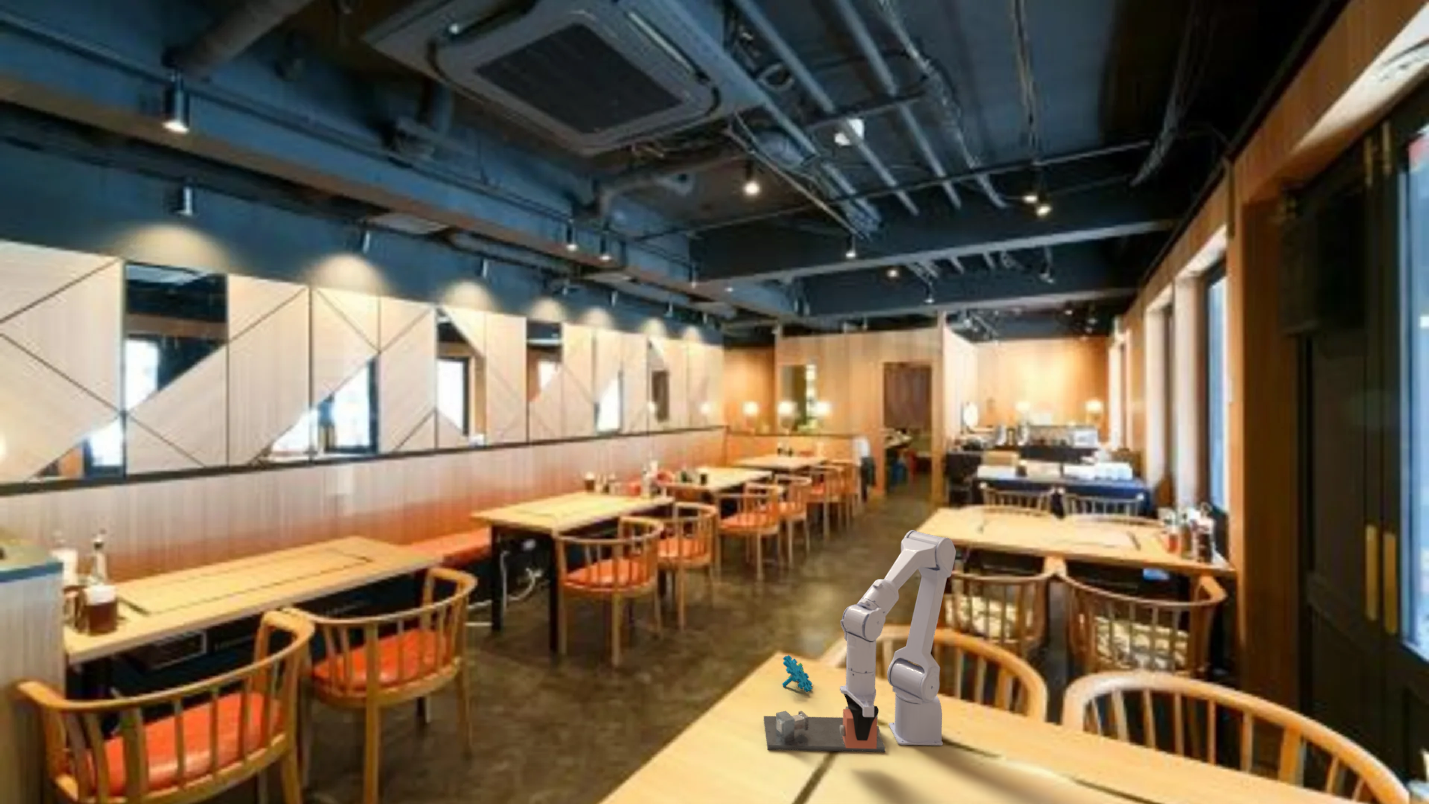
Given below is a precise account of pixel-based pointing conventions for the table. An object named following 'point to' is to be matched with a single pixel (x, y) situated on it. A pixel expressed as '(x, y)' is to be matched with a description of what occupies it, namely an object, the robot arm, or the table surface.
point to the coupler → (850, 737)
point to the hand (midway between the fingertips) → (859, 733)
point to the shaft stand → (808, 733)
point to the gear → (796, 674)
